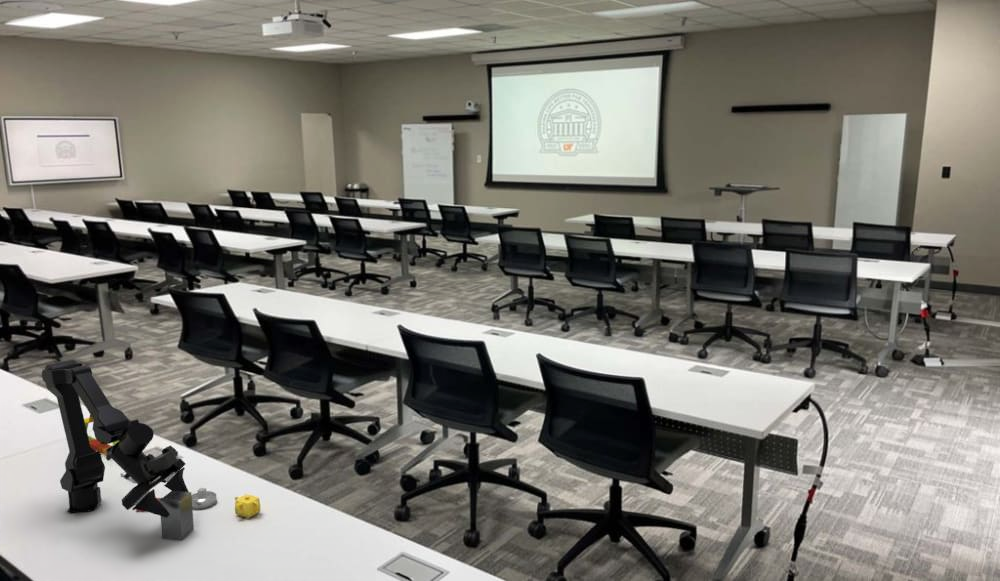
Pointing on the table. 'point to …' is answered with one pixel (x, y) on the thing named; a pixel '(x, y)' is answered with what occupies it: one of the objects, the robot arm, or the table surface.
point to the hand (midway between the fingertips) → (179, 507)
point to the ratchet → (200, 500)
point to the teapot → (247, 506)
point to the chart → (93, 442)
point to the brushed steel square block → (177, 515)
